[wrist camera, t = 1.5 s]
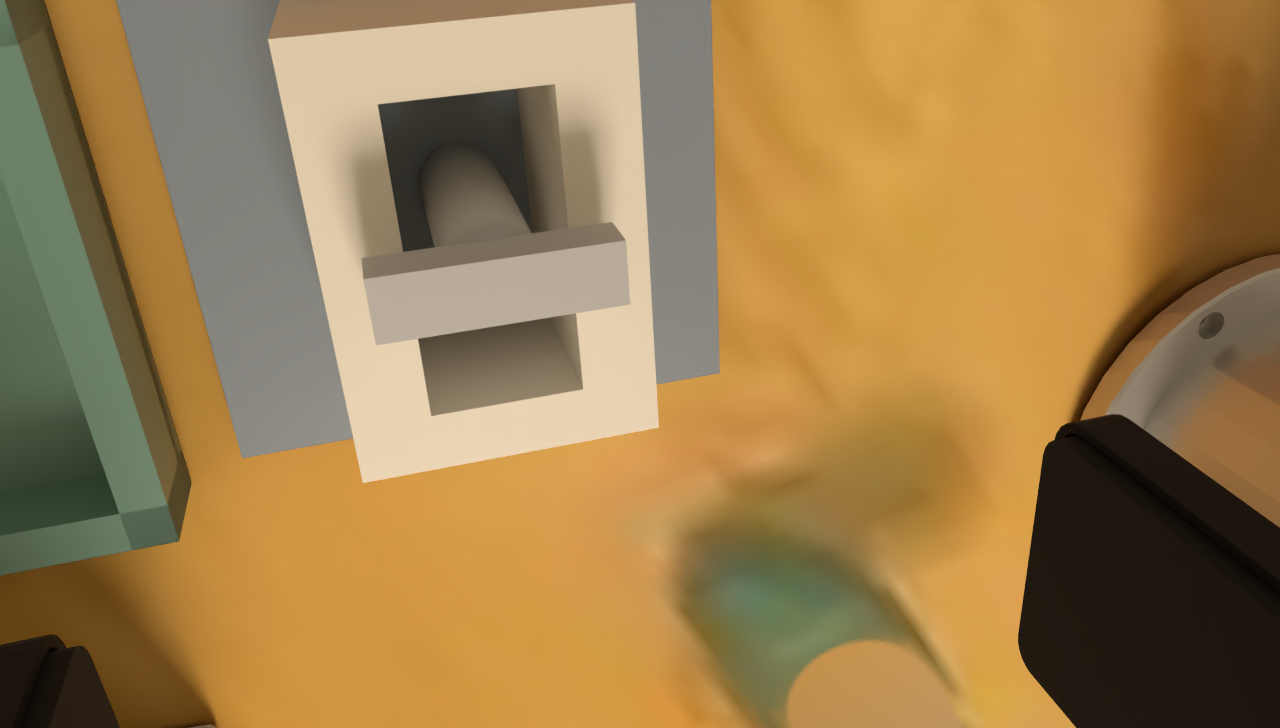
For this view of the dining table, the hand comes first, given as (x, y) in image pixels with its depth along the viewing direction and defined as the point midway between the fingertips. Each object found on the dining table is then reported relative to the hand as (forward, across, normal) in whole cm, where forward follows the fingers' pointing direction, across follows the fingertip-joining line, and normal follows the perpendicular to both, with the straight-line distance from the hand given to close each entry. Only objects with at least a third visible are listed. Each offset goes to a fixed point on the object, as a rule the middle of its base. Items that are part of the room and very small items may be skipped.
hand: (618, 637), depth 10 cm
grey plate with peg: (+16, 0, 0) cm, 16 cm away
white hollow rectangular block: (+15, 0, 0) cm, 15 cm away
